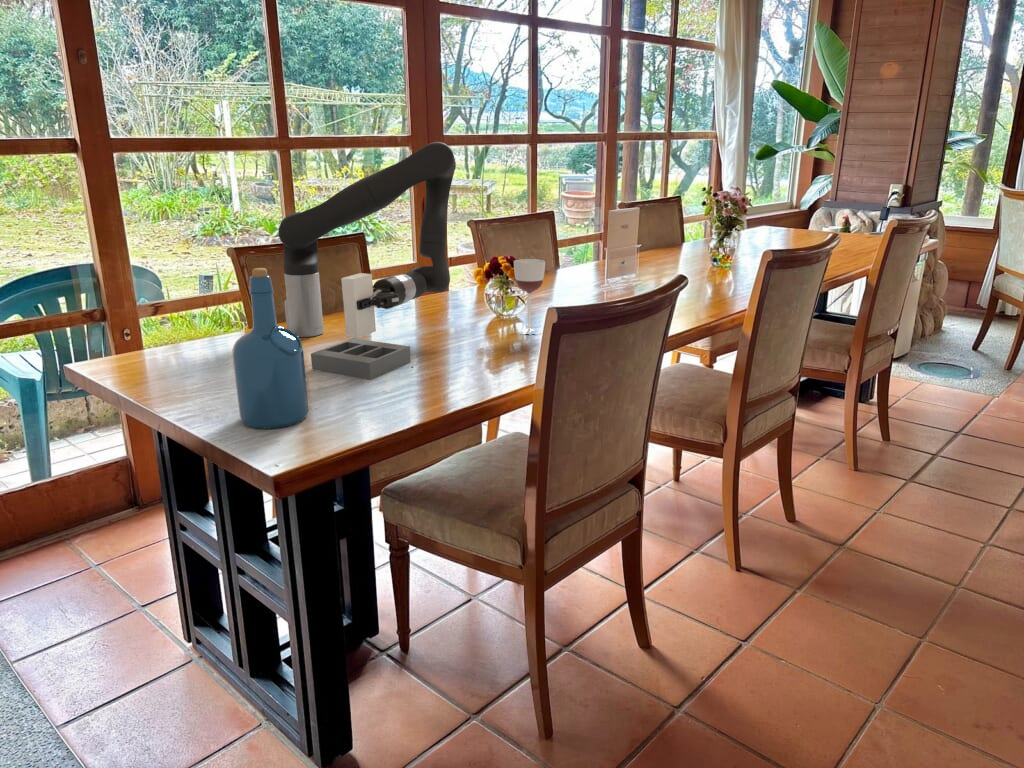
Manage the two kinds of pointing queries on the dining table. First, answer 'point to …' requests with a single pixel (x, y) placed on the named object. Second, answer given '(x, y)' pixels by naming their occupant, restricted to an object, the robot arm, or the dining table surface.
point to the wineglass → (529, 279)
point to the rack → (361, 358)
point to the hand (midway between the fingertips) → (351, 304)
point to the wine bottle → (269, 365)
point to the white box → (356, 319)
